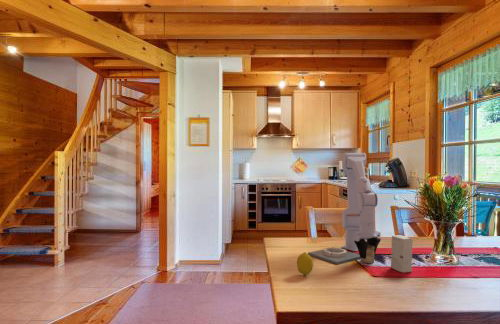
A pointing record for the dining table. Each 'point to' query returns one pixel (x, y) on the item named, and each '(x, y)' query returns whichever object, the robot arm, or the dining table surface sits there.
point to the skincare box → (401, 253)
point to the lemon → (304, 264)
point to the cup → (369, 254)
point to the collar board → (334, 259)
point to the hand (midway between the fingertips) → (367, 256)
